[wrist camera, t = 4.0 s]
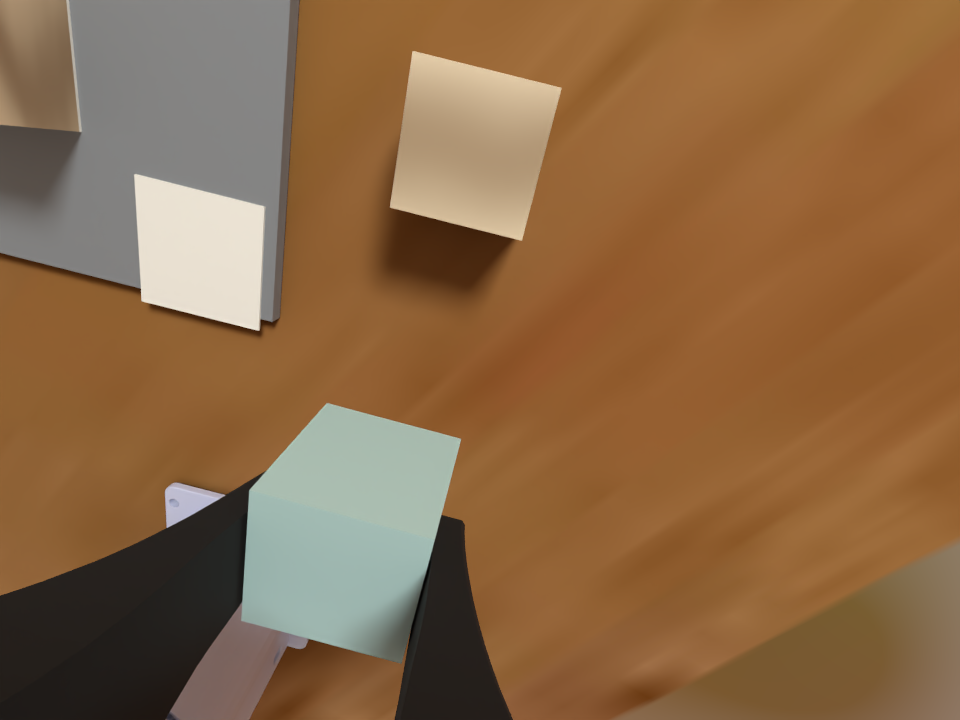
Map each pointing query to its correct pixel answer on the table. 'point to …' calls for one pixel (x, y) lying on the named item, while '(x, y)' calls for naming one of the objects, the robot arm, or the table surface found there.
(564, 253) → the table surface
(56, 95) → the oak cube
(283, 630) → the teal cube
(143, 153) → the slate board
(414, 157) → the maple cube
